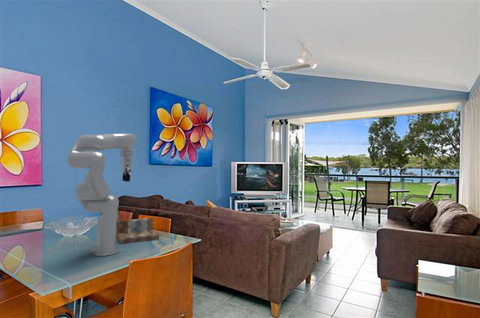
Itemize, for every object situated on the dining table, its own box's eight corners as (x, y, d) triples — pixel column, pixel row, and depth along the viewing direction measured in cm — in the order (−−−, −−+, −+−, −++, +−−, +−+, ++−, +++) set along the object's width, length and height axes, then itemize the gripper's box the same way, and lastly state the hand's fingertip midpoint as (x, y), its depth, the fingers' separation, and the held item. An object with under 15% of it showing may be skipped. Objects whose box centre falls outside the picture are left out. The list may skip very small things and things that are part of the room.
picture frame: (128, 236, 172) (128, 220, 173) (127, 234, 177) (127, 219, 177) (147, 234, 178) (148, 219, 179) (146, 232, 183) (146, 217, 183)
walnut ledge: (119, 244, 164) (119, 227, 164) (115, 237, 181) (116, 221, 182) (159, 239, 176) (159, 223, 177) (152, 232, 193) (152, 218, 194)
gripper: (135, 154, 168) (134, 181, 167) (130, 155, 183) (130, 180, 182) (122, 153, 164) (121, 181, 163) (118, 154, 179) (118, 180, 178)
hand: (126, 181), depth 173 cm, fingers open, 9 cm apart
